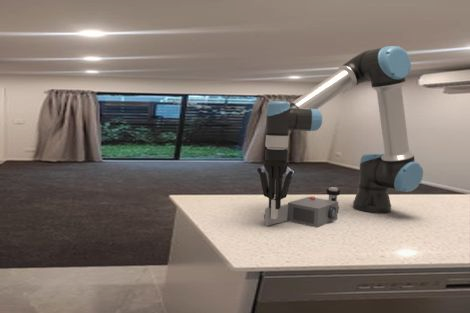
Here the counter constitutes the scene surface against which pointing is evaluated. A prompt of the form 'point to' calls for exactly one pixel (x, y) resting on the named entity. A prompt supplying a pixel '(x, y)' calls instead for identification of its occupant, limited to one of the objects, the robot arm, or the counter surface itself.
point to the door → (281, 215)
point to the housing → (312, 211)
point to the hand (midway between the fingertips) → (274, 218)
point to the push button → (333, 194)
